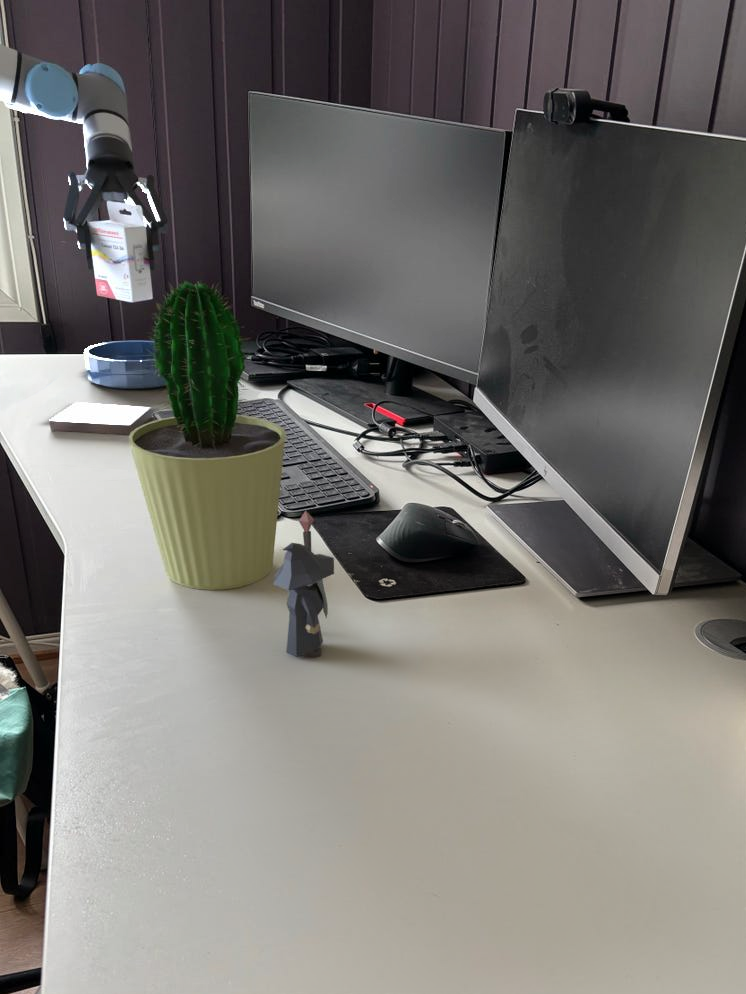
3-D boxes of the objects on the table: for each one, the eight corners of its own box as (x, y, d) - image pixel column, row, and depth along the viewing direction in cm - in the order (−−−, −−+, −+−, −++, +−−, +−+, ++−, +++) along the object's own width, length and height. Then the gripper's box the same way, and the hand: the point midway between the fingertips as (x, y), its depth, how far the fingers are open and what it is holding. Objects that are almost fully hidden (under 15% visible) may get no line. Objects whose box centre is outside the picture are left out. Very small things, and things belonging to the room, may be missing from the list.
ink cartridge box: (95, 296, 162) (83, 201, 155) (117, 292, 166) (106, 200, 159) (132, 303, 159) (121, 206, 152) (154, 299, 163) (145, 205, 156)
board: (50, 430, 142) (48, 420, 142) (77, 412, 151) (75, 402, 150) (131, 435, 142) (129, 425, 142) (152, 416, 151) (151, 407, 150)
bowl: (73, 387, 163) (69, 358, 161) (108, 365, 177) (104, 338, 175) (168, 393, 163) (165, 363, 161) (195, 371, 177) (193, 343, 175)
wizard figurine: (345, 660, 88) (343, 540, 82) (285, 671, 86) (279, 548, 80) (318, 621, 94) (314, 506, 88) (262, 630, 92) (254, 513, 86)
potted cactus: (321, 569, 105) (312, 280, 90) (201, 613, 94) (169, 295, 80) (236, 528, 113) (215, 259, 99) (117, 565, 103) (74, 270, 88)
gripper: (175, 170, 170) (189, 279, 164) (43, 164, 163) (53, 278, 157) (174, 137, 163) (189, 250, 157) (36, 130, 156) (46, 248, 151)
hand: (121, 264), depth 157 cm, fingers closed on ink cartridge box, 9 cm apart
